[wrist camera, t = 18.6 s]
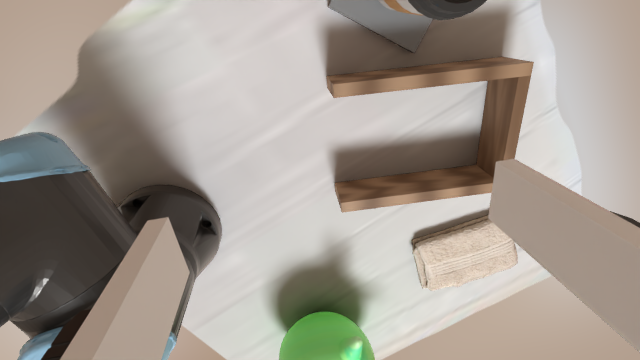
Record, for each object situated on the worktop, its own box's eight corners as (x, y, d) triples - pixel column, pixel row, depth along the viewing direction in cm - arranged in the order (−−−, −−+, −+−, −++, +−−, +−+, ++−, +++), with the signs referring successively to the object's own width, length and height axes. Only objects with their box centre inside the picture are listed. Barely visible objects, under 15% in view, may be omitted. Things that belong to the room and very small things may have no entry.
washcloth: (406, 238, 55) (412, 250, 53) (507, 203, 54) (519, 213, 51) (419, 285, 61) (425, 298, 58) (512, 254, 60) (523, 266, 57)
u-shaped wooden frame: (335, 191, 49) (341, 212, 44) (326, 76, 41) (333, 84, 36) (484, 172, 50) (508, 190, 45) (502, 56, 43) (533, 62, 37)
